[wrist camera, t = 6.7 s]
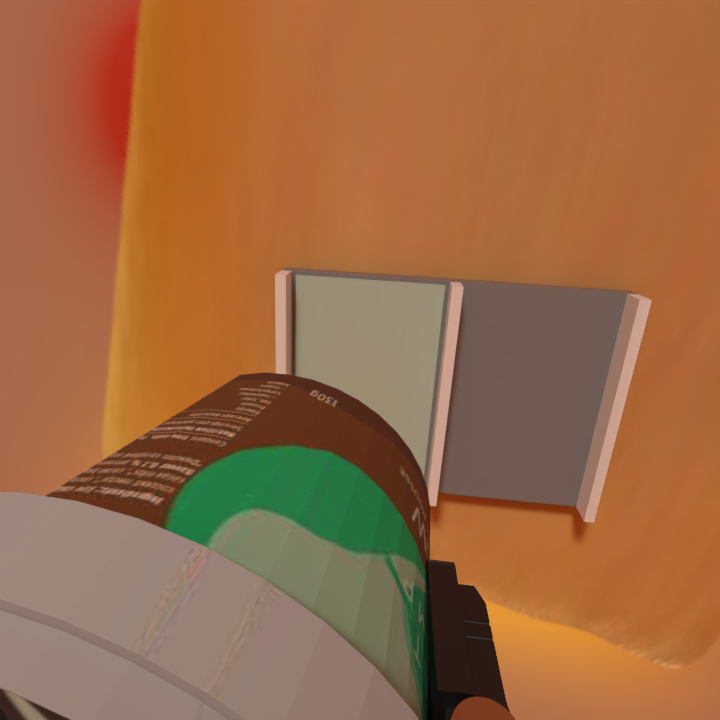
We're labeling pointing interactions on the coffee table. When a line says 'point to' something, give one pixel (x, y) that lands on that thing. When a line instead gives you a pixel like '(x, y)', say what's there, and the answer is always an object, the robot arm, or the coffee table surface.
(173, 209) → the coffee table surface
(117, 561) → the food container
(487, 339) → the sorting board
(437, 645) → the robot arm
